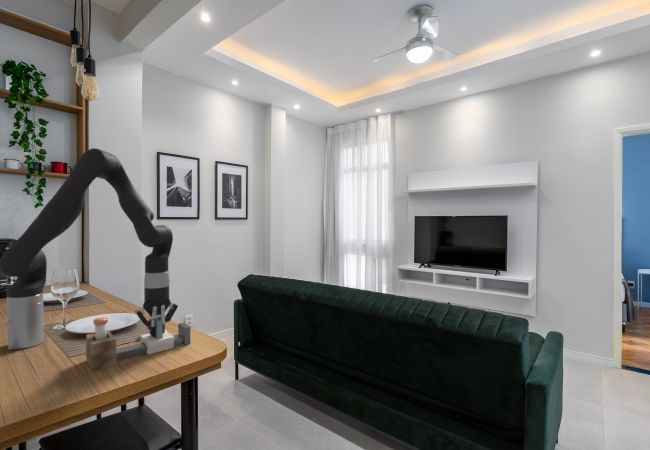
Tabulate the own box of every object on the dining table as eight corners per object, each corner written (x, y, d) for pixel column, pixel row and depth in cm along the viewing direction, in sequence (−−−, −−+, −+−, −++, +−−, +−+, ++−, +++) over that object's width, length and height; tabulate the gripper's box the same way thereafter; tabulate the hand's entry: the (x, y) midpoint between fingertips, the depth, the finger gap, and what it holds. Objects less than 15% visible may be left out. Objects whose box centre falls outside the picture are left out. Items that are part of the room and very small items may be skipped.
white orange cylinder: (95, 348, 99) (94, 322, 99) (92, 344, 102) (92, 319, 101) (109, 345, 101) (108, 319, 101) (106, 341, 104) (106, 316, 104)
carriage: (148, 355, 107) (148, 324, 106) (140, 346, 113) (140, 317, 113) (174, 348, 112) (174, 319, 112) (165, 340, 119) (165, 313, 118)
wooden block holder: (92, 371, 96) (92, 344, 96) (86, 360, 103) (86, 334, 103) (116, 365, 100) (116, 339, 100) (109, 354, 107) (108, 330, 107)
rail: (114, 363, 102) (114, 343, 101) (110, 356, 106) (110, 338, 106) (190, 343, 117) (190, 326, 117) (183, 338, 122) (183, 322, 122)
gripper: (174, 280, 119) (174, 328, 120) (131, 285, 110) (131, 337, 111) (182, 283, 114) (182, 333, 115) (137, 289, 104) (137, 344, 105)
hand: (157, 335), depth 113 cm, fingers closed on carriage
